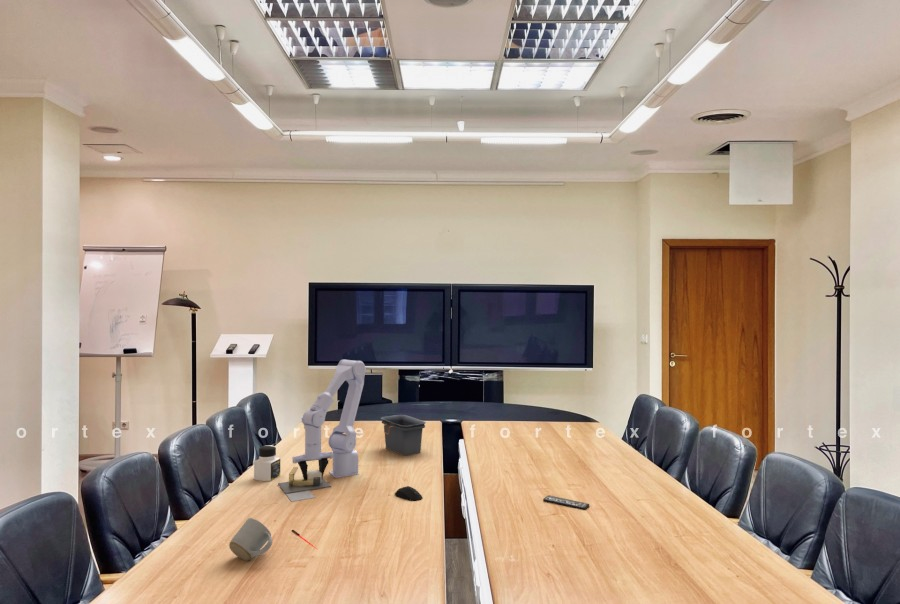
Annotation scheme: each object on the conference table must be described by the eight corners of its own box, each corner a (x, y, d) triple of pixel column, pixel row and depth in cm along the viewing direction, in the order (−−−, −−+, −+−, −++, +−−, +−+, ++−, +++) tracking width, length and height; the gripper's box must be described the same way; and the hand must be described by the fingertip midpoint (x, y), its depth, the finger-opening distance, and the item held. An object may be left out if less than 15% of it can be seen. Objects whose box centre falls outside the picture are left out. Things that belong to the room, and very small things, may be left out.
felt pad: (309, 491, 199) (309, 490, 199) (315, 498, 192) (315, 497, 192) (285, 495, 195) (286, 494, 195) (291, 502, 188) (291, 501, 188)
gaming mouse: (418, 508, 184) (418, 496, 184) (390, 496, 195) (390, 485, 195) (432, 503, 189) (432, 491, 189) (405, 492, 200) (405, 481, 200)
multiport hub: (548, 501, 191) (548, 494, 191) (589, 510, 183) (589, 503, 183) (542, 505, 187) (542, 498, 187) (584, 515, 179) (584, 507, 179)
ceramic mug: (241, 564, 147) (221, 543, 146) (263, 538, 153) (244, 517, 152) (259, 562, 140) (238, 540, 139) (281, 535, 146) (261, 513, 145)
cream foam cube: (317, 478, 211) (317, 469, 211) (321, 482, 206) (321, 473, 206) (304, 480, 208) (304, 471, 208) (307, 484, 204) (308, 475, 204)
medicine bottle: (271, 481, 210) (271, 449, 210) (253, 480, 211) (253, 448, 211) (280, 476, 217) (280, 444, 217) (263, 474, 218) (263, 443, 218)
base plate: (321, 478, 213) (321, 476, 213) (331, 488, 203) (331, 485, 203) (278, 485, 206) (278, 483, 206) (285, 495, 195) (285, 492, 195)
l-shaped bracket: (293, 478, 211) (293, 466, 211) (322, 477, 212) (323, 466, 212) (288, 486, 201) (288, 474, 201) (319, 485, 202) (319, 473, 202)
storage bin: (429, 454, 249) (429, 421, 249) (399, 460, 239) (399, 426, 239) (402, 444, 266) (402, 414, 266) (373, 449, 256) (374, 418, 256)
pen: (291, 531, 165) (292, 527, 165) (321, 554, 150) (321, 550, 150) (289, 532, 165) (289, 528, 165) (318, 555, 150) (318, 550, 150)
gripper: (329, 438, 214) (329, 474, 214) (290, 443, 207) (290, 480, 207) (335, 442, 208) (334, 479, 208) (295, 447, 201) (295, 485, 201)
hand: (313, 480), depth 207 cm, fingers closed on cream foam cube, 5 cm apart
